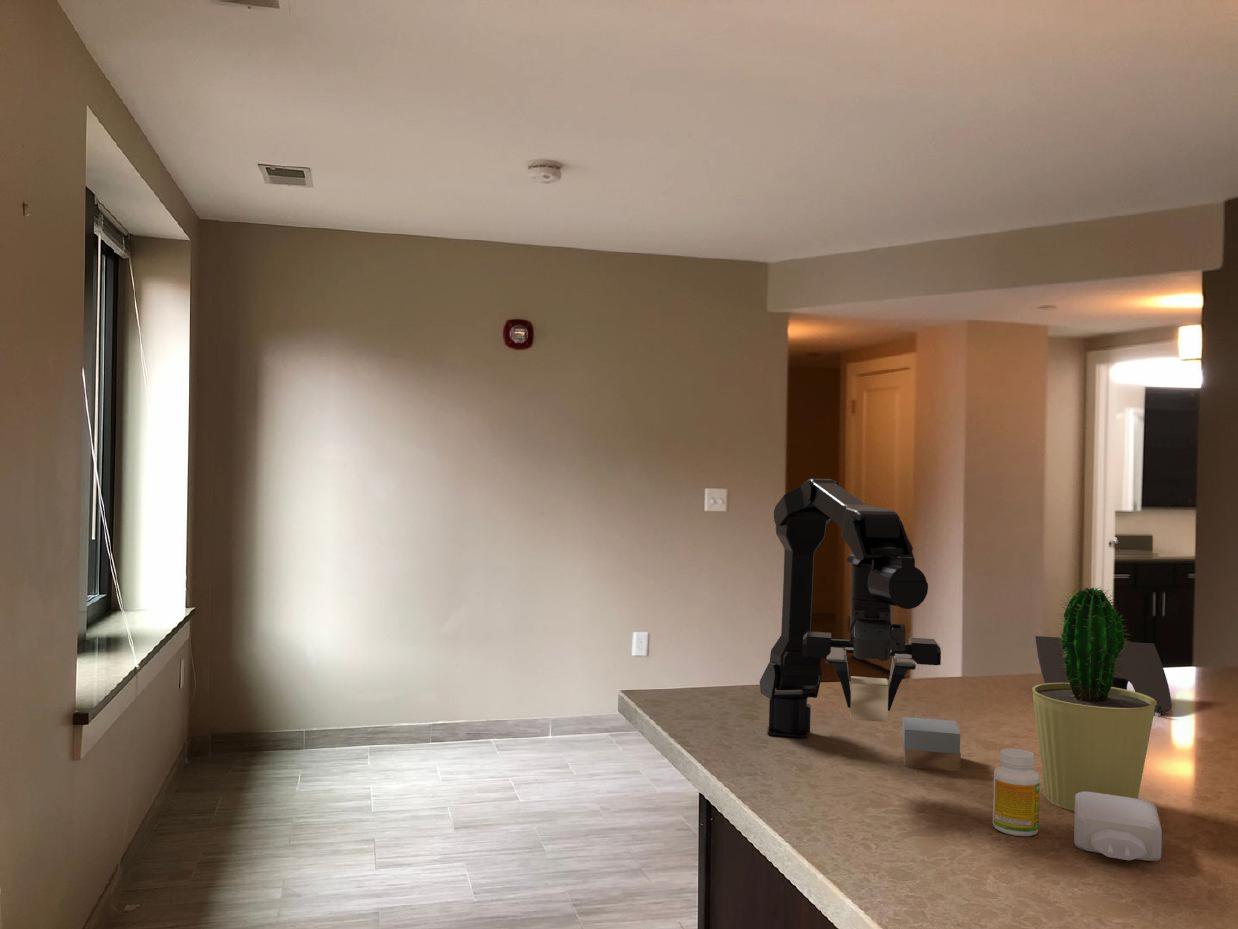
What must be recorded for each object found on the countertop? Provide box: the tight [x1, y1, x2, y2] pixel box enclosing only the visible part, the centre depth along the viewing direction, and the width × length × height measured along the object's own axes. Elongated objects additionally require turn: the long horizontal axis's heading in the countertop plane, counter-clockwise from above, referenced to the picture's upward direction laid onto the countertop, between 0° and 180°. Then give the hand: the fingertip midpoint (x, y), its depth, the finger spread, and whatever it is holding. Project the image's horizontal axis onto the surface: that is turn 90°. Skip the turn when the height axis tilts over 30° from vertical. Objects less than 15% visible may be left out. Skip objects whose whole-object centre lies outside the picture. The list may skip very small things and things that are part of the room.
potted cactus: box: [1031, 583, 1157, 813], centre depth 138 cm, size 15×15×30 cm
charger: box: [1073, 792, 1163, 862], centre depth 120 cm, size 5×9×15 cm
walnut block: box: [901, 736, 962, 772], centre depth 155 cm, size 8×8×3 cm
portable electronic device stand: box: [1034, 635, 1173, 717], centre depth 201 cm, size 23×23×9 cm
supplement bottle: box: [992, 747, 1041, 837], centre depth 127 cm, size 5×5×10 cm
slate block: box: [901, 716, 961, 754], centre depth 155 cm, size 8×8×3 cm
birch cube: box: [849, 676, 889, 723], centre depth 142 cm, size 5×5×5 cm
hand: (868, 708), depth 142 cm, fingers closed on birch cube, 5 cm apart
